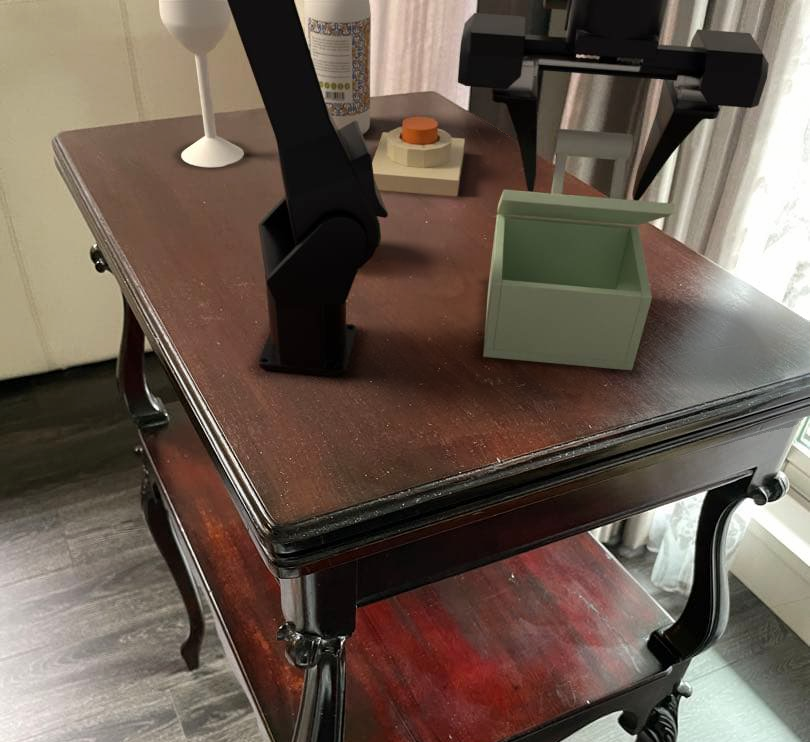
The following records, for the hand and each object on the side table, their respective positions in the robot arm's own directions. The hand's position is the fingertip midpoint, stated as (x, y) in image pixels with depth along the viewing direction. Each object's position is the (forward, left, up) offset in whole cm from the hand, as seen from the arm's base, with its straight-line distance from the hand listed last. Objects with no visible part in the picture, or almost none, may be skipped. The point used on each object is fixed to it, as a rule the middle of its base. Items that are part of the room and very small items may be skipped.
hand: (582, 193), depth 59 cm
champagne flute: (+29, +36, -11) cm, 48 cm away
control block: (+29, +14, -11) cm, 34 cm away
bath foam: (+39, +24, -11) cm, 47 cm away
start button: (+29, +14, -8) cm, 33 cm away
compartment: (+1, 0, -11) cm, 11 cm away
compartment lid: (+1, 0, -2) cm, 3 cm away
